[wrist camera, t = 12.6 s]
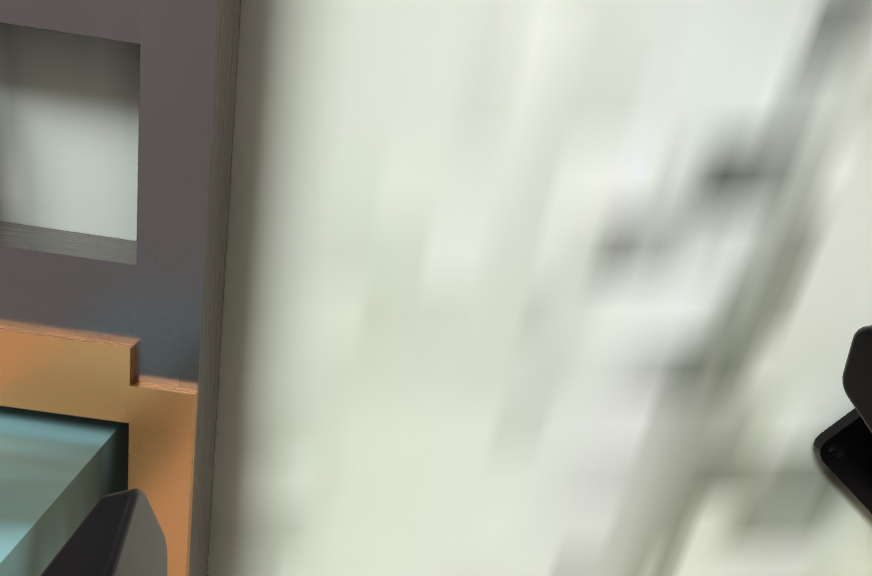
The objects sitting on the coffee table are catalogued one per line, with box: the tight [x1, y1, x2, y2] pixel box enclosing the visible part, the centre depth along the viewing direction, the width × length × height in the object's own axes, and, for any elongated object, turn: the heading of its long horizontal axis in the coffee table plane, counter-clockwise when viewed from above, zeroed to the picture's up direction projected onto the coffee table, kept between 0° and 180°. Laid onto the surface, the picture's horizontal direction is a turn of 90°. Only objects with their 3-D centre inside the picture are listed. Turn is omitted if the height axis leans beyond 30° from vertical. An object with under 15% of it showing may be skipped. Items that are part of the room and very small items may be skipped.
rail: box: [0, 0, 241, 576], centre depth 20 cm, size 26×9×2 cm, turn 171°
